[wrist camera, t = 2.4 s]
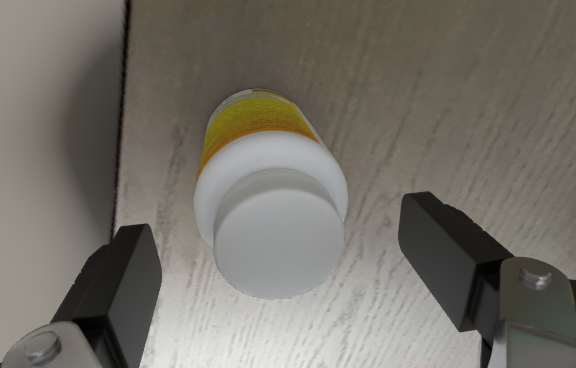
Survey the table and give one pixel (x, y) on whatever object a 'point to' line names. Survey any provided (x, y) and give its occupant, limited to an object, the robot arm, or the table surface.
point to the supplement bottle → (269, 197)
